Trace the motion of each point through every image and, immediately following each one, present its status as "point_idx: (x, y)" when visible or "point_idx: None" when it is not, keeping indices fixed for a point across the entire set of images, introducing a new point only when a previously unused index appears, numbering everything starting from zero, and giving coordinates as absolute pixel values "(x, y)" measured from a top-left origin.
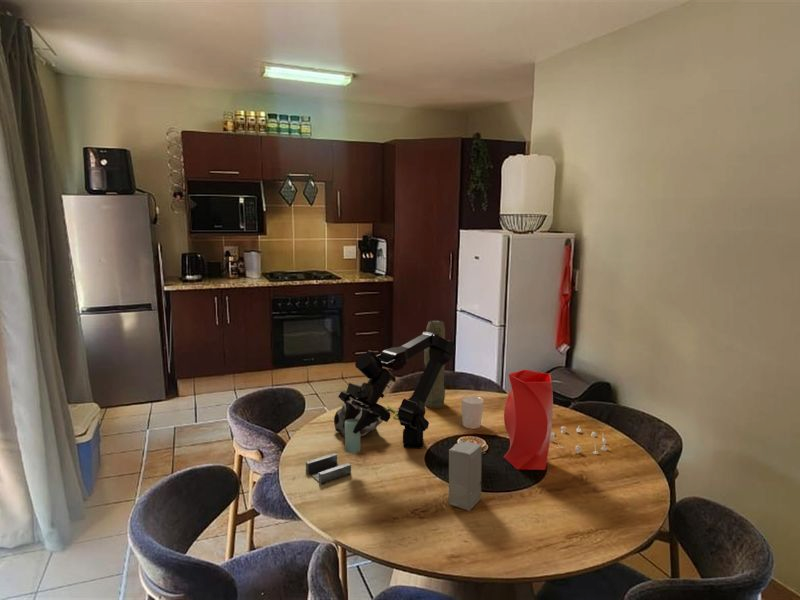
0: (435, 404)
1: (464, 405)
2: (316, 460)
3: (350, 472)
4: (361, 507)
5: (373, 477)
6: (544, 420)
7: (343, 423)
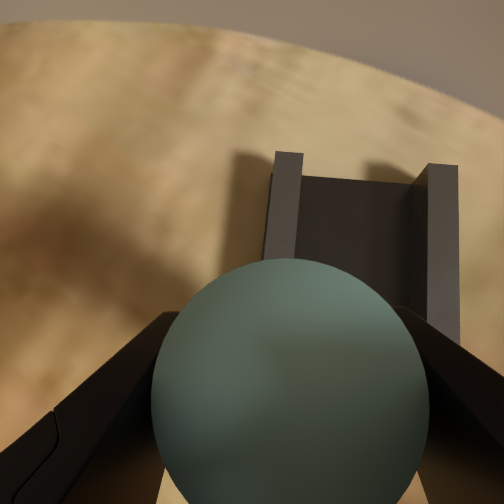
0: None
1: None
2: (436, 218)
3: None
4: (4, 196)
5: None
6: None
7: (429, 326)
